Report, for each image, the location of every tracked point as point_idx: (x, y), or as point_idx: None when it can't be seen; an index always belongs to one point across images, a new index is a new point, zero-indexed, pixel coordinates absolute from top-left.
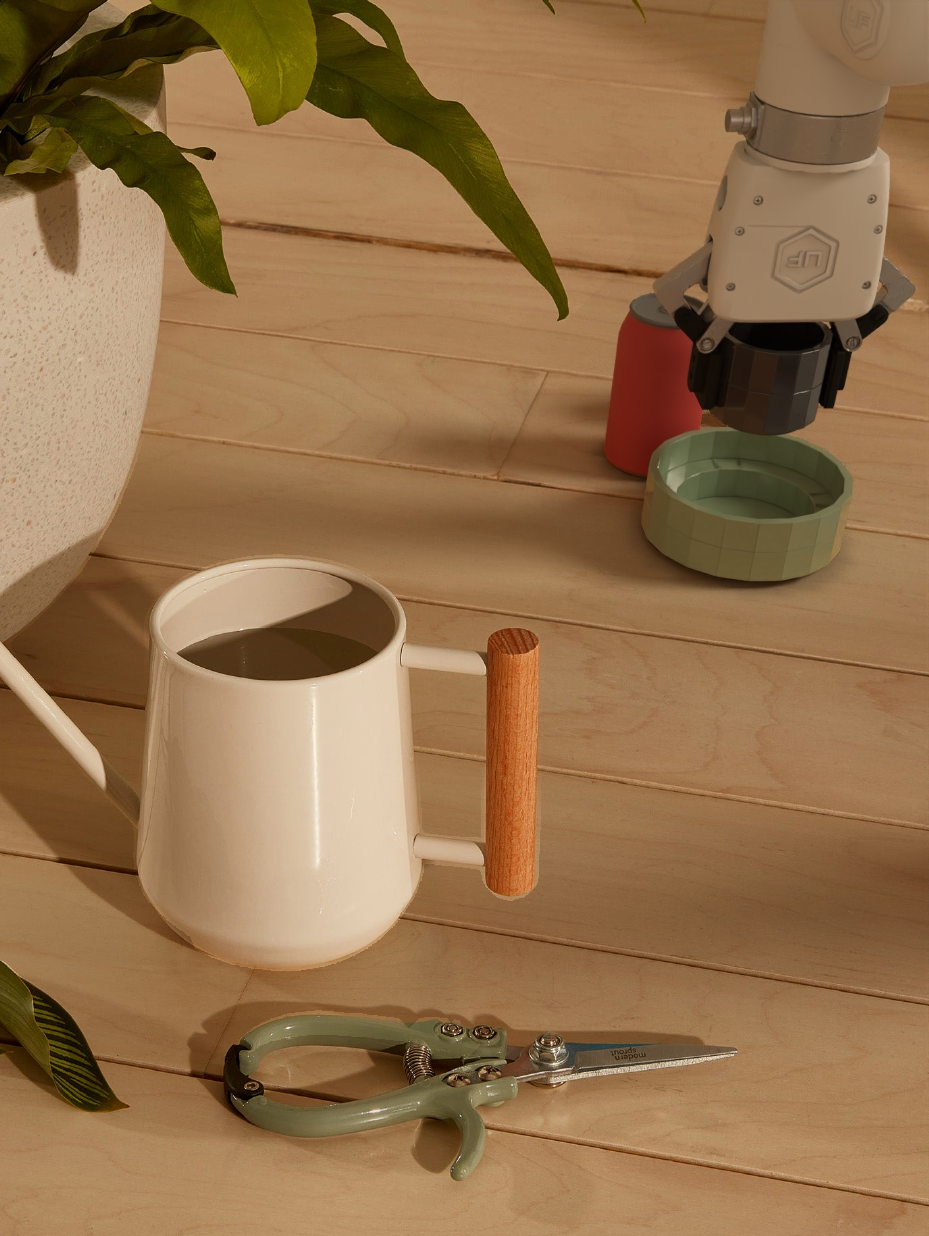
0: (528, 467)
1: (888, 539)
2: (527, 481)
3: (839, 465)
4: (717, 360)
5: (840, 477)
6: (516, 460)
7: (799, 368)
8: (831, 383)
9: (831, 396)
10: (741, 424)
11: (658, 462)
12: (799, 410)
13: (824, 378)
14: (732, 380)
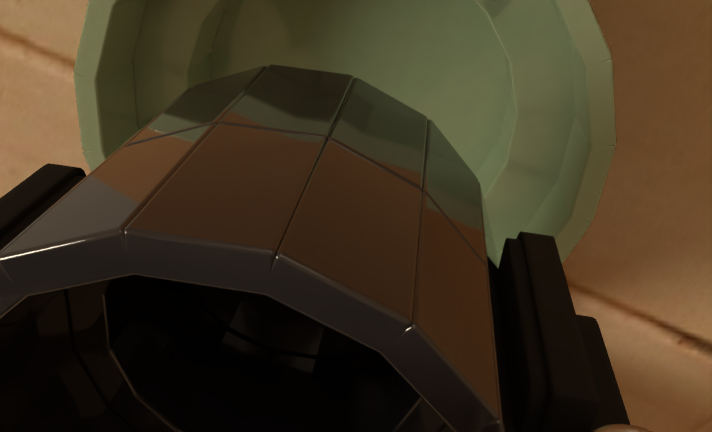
0: (671, 394)
1: (45, 29)
2: (700, 353)
3: (95, 145)
4: (563, 374)
5: (104, 101)
6: (681, 418)
7: (155, 182)
8: (19, 212)
9: (42, 185)
10: (431, 127)
11: (555, 238)
12: (196, 102)
13: None
14: (478, 271)
